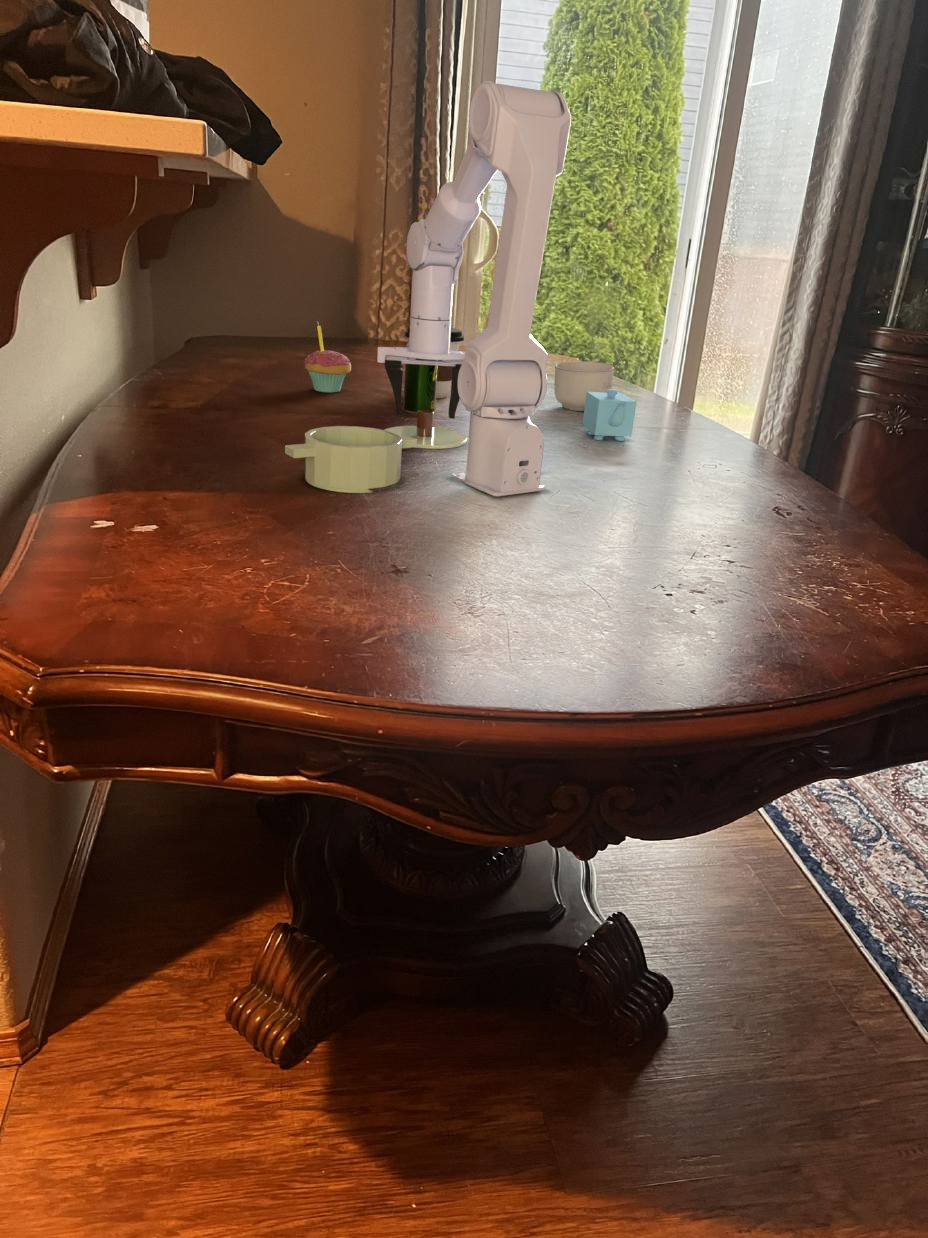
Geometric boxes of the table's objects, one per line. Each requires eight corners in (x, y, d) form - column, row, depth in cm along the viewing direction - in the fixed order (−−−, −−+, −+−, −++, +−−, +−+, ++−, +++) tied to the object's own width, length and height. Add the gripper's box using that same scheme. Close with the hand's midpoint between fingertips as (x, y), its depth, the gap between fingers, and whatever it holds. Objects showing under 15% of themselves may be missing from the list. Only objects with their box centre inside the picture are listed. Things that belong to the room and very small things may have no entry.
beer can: (404, 416, 148) (407, 341, 144) (401, 409, 153) (405, 336, 148) (436, 417, 149) (440, 343, 144) (433, 411, 154) (437, 338, 149)
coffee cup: (438, 403, 161) (442, 333, 156) (390, 393, 166) (393, 326, 162) (471, 396, 170) (476, 330, 165) (424, 387, 175) (427, 323, 170)
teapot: (637, 447, 140) (645, 398, 137) (600, 445, 139) (607, 396, 135) (613, 430, 150) (620, 384, 147) (579, 428, 149) (585, 383, 146)
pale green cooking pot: (435, 484, 111) (438, 441, 109) (312, 499, 102) (312, 453, 100) (386, 462, 120) (388, 422, 118) (268, 474, 110) (267, 430, 108)
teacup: (612, 416, 162) (618, 370, 159) (552, 411, 162) (557, 366, 158) (602, 402, 175) (608, 360, 171) (547, 398, 174) (551, 355, 171)
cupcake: (297, 391, 162) (297, 321, 157) (312, 384, 169) (313, 317, 165) (343, 396, 161) (345, 326, 156) (356, 388, 168) (358, 322, 164)
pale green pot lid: (483, 448, 131) (486, 417, 129) (411, 455, 124) (413, 422, 122) (435, 430, 140) (436, 400, 138) (365, 436, 133) (366, 404, 131)
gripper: (478, 318, 130) (471, 412, 135) (378, 311, 128) (375, 407, 133) (484, 324, 123) (476, 422, 129) (379, 317, 121) (375, 417, 127)
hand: (425, 415), depth 131 cm, fingers open, 7 cm apart
